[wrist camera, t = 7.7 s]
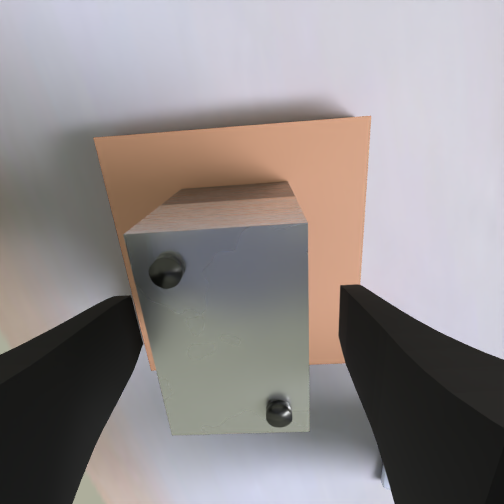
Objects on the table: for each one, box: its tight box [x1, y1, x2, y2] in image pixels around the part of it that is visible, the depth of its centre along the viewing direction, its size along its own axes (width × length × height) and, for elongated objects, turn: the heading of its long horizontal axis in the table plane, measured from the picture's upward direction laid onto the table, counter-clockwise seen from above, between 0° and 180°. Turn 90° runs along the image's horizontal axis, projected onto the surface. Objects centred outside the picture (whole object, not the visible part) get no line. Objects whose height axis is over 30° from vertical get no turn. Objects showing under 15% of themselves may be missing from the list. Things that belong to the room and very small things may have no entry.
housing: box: [123, 181, 310, 435], centre depth 11 cm, size 7×4×6 cm, turn 4°
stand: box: [94, 116, 371, 371], centre depth 15 cm, size 11×12×2 cm
